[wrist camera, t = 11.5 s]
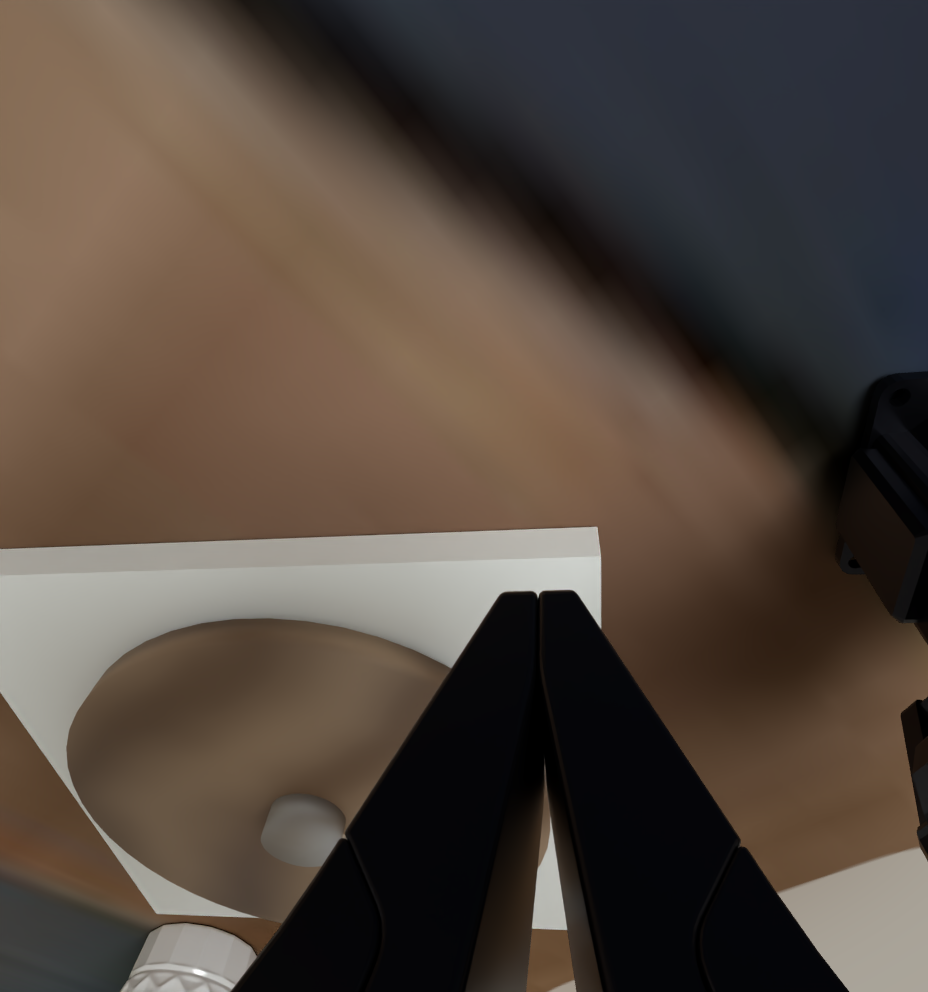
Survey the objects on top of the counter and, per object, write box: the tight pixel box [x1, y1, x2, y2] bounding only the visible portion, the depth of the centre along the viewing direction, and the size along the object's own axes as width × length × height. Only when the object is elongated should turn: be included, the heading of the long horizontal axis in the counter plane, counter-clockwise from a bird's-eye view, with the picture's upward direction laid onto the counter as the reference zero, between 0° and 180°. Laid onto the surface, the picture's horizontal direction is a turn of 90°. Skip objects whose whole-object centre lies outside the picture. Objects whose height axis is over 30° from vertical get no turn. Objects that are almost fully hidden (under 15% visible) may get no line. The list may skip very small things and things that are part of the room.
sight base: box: [0, 527, 601, 930], centre depth 28 cm, size 23×23×4 cm
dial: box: [66, 618, 550, 923], centre depth 23 cm, size 19×19×11 cm
